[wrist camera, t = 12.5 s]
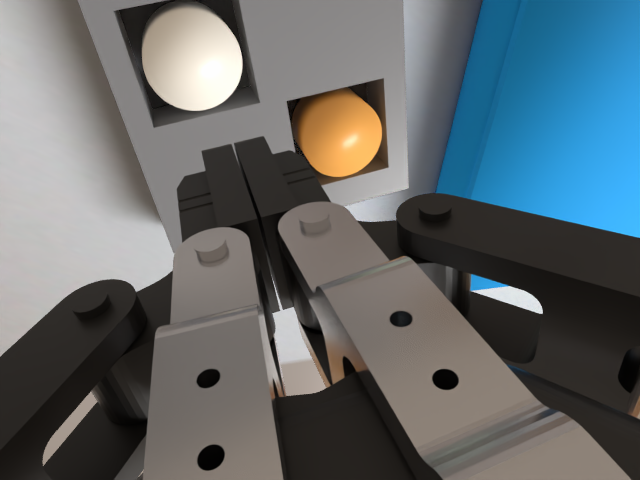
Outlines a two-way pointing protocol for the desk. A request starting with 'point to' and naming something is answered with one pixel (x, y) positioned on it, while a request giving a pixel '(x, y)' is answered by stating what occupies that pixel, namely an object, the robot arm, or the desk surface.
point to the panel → (267, 91)
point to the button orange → (336, 131)
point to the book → (551, 114)
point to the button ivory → (190, 55)
